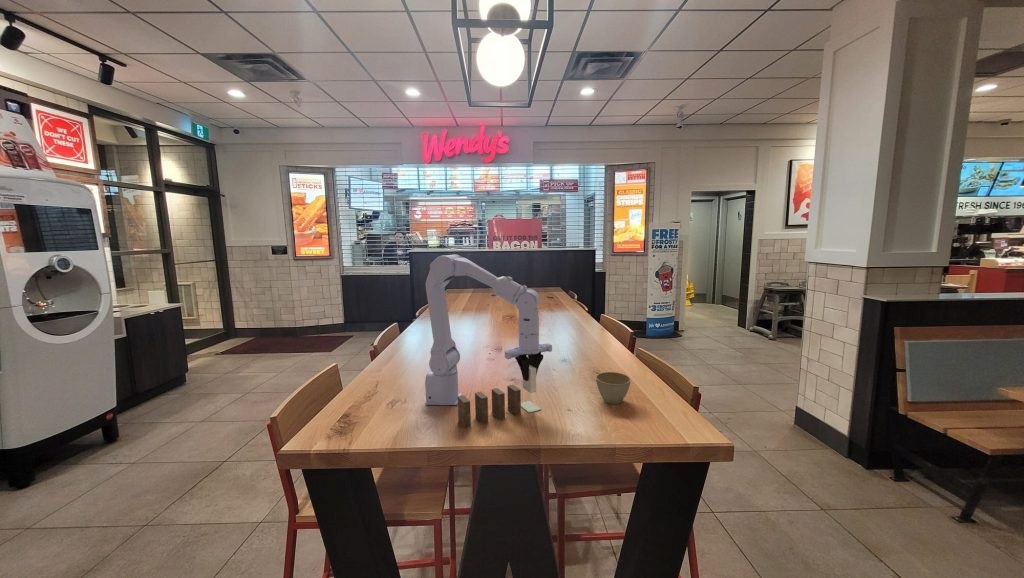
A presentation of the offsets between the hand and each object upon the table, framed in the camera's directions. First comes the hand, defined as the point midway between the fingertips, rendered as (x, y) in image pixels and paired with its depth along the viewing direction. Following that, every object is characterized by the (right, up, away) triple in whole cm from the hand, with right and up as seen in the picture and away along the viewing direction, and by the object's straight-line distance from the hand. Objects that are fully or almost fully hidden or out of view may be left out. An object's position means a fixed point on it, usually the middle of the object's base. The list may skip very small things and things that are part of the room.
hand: (529, 379), depth 111 cm
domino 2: (-13, -10, -6) cm, 17 cm away
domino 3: (-9, -9, -4) cm, 13 cm away
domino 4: (-4, -9, -1) cm, 10 cm away
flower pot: (+25, -8, +5) cm, 27 cm away
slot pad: (0, -8, +1) cm, 8 cm away
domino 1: (-18, -10, -8) cm, 22 cm away
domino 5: (0, -3, 0) cm, 3 cm away
